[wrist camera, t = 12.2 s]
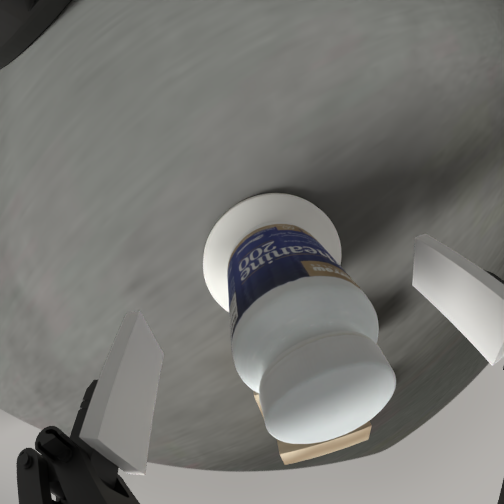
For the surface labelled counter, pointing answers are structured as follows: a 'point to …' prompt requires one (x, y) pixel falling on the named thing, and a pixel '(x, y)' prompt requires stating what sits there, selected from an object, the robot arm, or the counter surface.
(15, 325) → the counter surface
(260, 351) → the pill bottle
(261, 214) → the pad
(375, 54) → the counter surface
